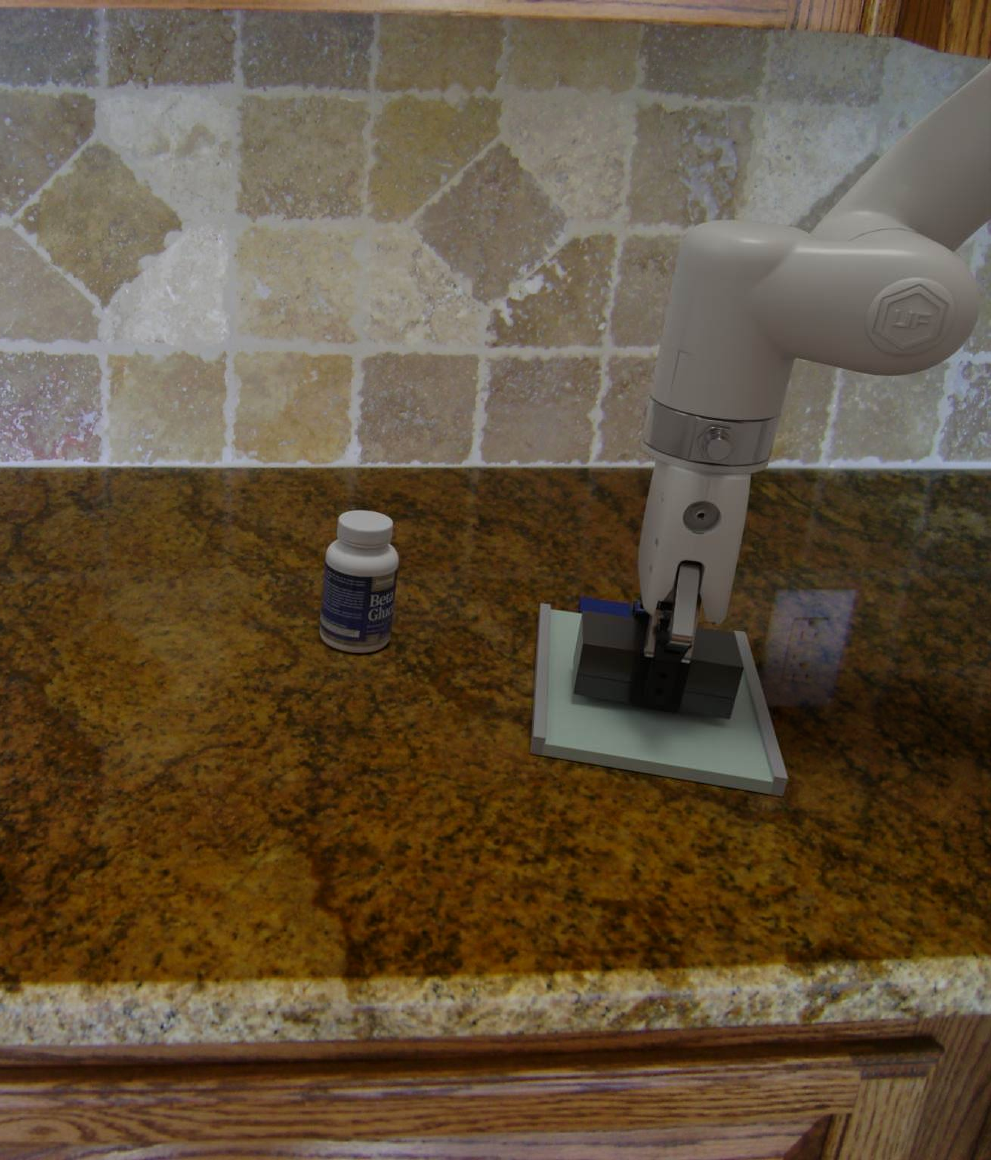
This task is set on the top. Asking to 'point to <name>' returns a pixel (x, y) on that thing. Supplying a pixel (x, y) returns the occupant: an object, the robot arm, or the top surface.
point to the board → (650, 723)
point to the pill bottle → (359, 583)
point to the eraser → (617, 640)
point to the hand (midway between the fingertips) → (650, 683)
